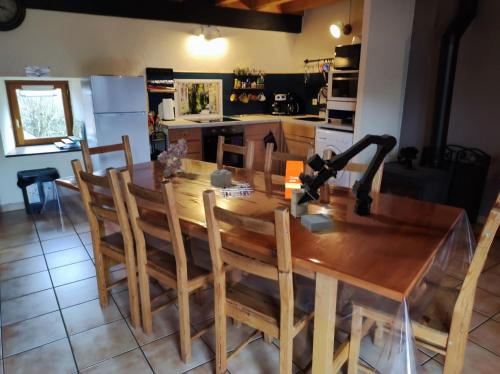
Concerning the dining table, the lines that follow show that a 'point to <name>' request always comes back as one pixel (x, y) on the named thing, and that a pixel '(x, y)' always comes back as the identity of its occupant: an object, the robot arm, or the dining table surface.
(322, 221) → the slate plinth
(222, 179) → the lumpy-topped squat cylinder
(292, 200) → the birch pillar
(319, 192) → the bull figurine
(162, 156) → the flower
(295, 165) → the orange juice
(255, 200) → the dining table surface
